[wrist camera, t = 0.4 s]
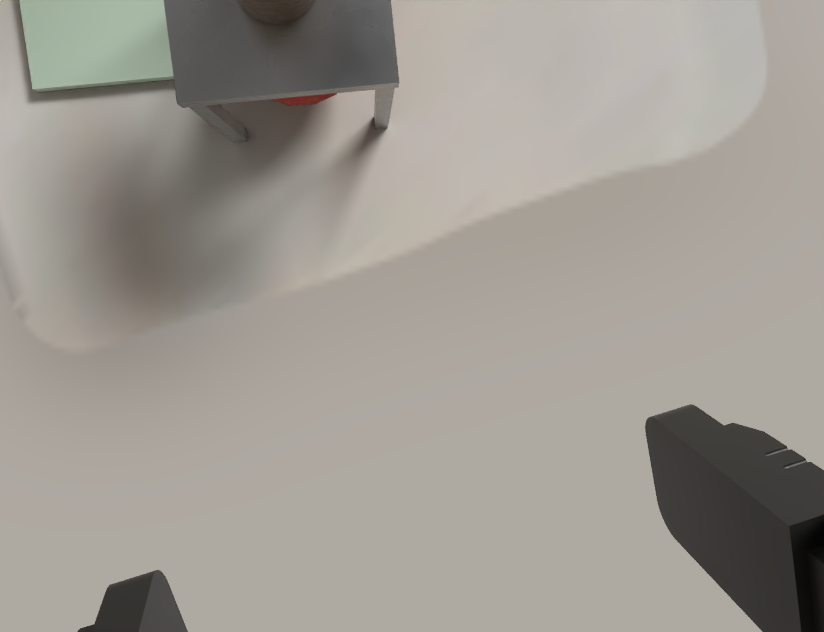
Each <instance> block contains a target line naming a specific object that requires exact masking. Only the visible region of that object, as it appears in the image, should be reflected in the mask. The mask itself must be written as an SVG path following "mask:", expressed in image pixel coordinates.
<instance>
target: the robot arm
mask: <svg viewBox="0 0 824 632" xmlns="http://www.w3.org/2000/svg"><path fill="white" fill-rule="evenodd" d="M645 428H646V437H647V443H648V449H649V455H650V461H651V467H652V472H653V478H654V484H655V490H656V496H657V501H658V505H659V509H660V512H661V515H662V517H663V519H664V521H665V524H666V526H667V527H668V529H669V531H670V532H671V534H672V535H673V537H674V538H675V539H676V540H677V541H678V542H679V543H680V544H681V546H682V547H683V548H684V549H685V550H686V551H687V552H688V553H689V554H690V555H691V556H692V557H693V558H694V559H695V560H696V561H697V562H698V563H699V564H700V566H701V567H702V568H703V569H704V570H705V571H706V572H707V573H708V574H709V575H710V576H711V577H712V578H713V579H714V580H715V581H716V583H717V584H718V585H719V586H720V587H721V588H722V589H723V590H724V591H725V592H726V593H727V594H728V595H729V596H730V597H731V599H732V600H733V601H734V602H735V603H736V604H737V605H738V606H739V607H740V608H741V609H742V610H743V611H744V612H745V613H746V614H747V615H748V617H750V619H751V620H752V621H753V622H754V623H755V624H756V625H757V626H758V627H759V628H760V629H761V630H762V631H763V632H824V470H822V469H821V468H819V467H818V466H816V465H814V464H813V463H812V462H808V463H807V461H806V459H805V458H804V457H802V456H801V455H799V454H798V453H796V452H795V451H793V450H788V449H787V446H785V445H784V444H782V443H780V442H779V441H778V440H776V439H775V438H773V437H771V436H770V435H768V434H766V433H765V432H763V431H759V430H756V429H753V428H749V427H746V426H742V425H738V424H735V423H731V424H728V425H725V426H724V425H722V424H721V423H719V422H718V421H717V420H715V419H714V418H712V417H711V416H709V415H708V414H706V413H705V412H704V411H702V410H700V409H699V408H698V407H696V406H694V405H687V406H684V407H681V408H677V409H674V410H672V411H668V412H665V413H662V414H658V415H655V416H652V417H649V418H648V419H647V421H646V426H645ZM78 632H187V629H186V626H185V624H184V621H183V619H182V616H181V614H180V611H179V609H178V606H177V604H176V601H175V599H174V596H173V594H172V591H171V588H170V586H169V584H168V581H167V579H166V578H165V576H164V574H163V573H162V572H161V571H159V570H156V571H153V572H150V573H146V574H143V575H140V576H137V577H134V578H130V579H127V580H124V581H121V582H118V583H115V584H111V585H109V587H108V588H107V590H106V593H105V595H104V598H103V601H102V604H101V607H100V610H99V613H98V616H97V618H96V621H95V624H94V625H91V626H87V627H84V628H81V629H79V630H78Z"/></svg>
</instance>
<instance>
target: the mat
mask: <svg viewBox="0 0 824 632" xmlns="http://www.w3.org/2000/svg"><path fill="white" fill-rule="evenodd" d="M19 2H20V9H21V16H22V22H23V29H24V36H25V42H26V49H27V56H28V62H29V69H30V76H31V83H32V89H33V90H35V91H37V92H43V91H53V90H64V89H75V88H85V87H96V86H107V85H118V84H128V83H139V82H150V81H160V80H171V79H174V76H173V69H172V61H171V53H170V46H169V38H168V30H167V23H166V15H165V8H164V0H19Z"/></svg>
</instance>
